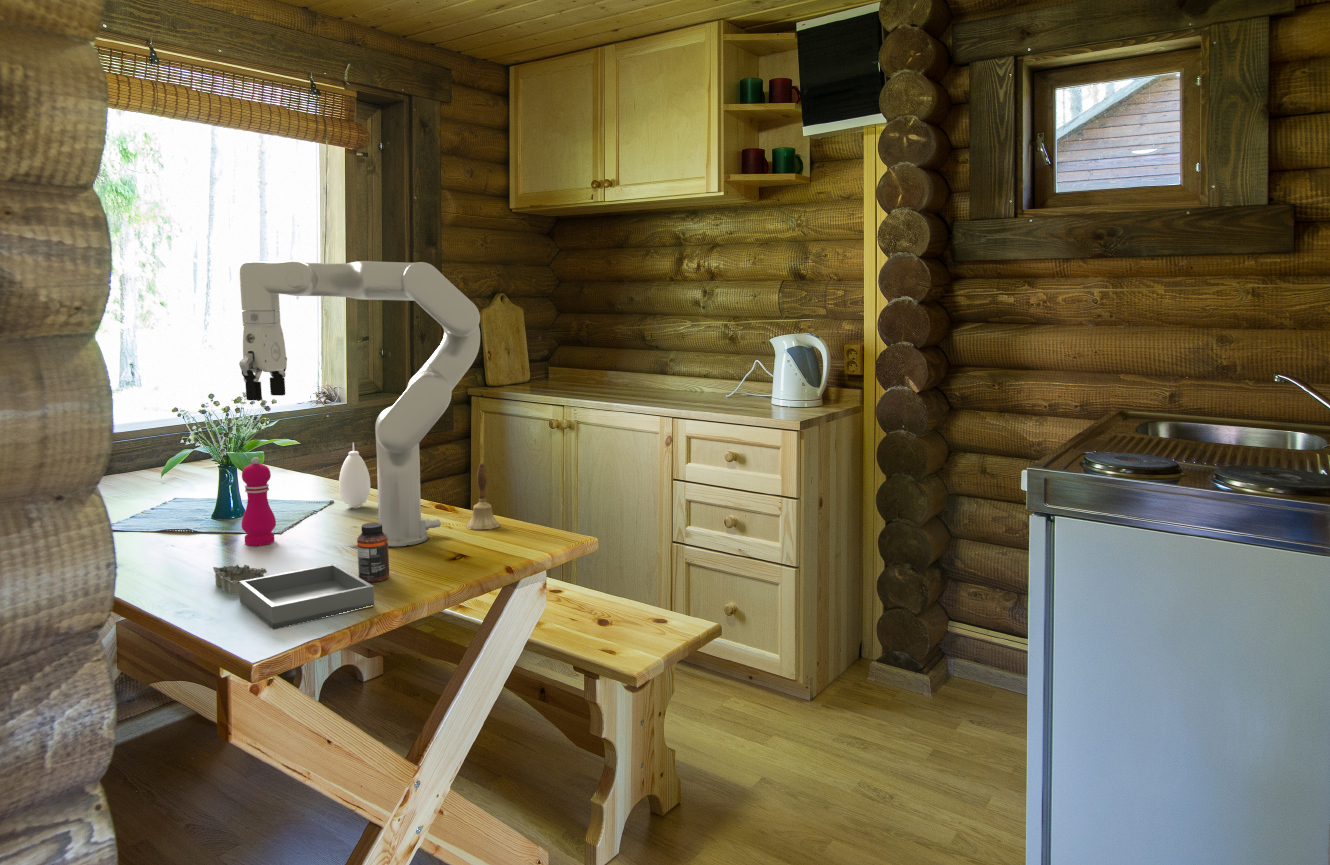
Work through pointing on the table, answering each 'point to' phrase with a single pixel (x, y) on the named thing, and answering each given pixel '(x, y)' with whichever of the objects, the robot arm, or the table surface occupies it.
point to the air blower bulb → (354, 480)
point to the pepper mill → (257, 505)
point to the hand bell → (482, 505)
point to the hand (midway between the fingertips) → (266, 397)
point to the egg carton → (235, 576)
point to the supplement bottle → (373, 553)
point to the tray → (305, 595)
